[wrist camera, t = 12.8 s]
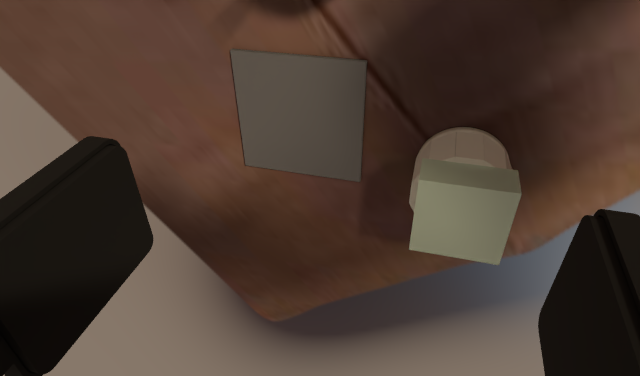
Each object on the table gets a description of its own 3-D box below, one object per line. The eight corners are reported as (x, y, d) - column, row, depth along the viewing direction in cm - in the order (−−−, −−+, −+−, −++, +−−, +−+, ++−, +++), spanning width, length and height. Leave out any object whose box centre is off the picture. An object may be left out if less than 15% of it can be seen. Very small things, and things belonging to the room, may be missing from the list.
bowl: (520, 133, 36) (526, 165, 32) (498, 208, 41) (501, 244, 37) (421, 121, 38) (415, 151, 34) (411, 195, 43) (405, 229, 39)
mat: (367, 60, 36) (366, 62, 36) (360, 179, 43) (360, 182, 43) (232, 48, 39) (230, 50, 39) (247, 163, 46) (245, 165, 46)
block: (518, 170, 33) (521, 193, 31) (497, 239, 37) (498, 265, 35) (422, 158, 34) (418, 179, 32) (412, 225, 39) (408, 249, 36)
